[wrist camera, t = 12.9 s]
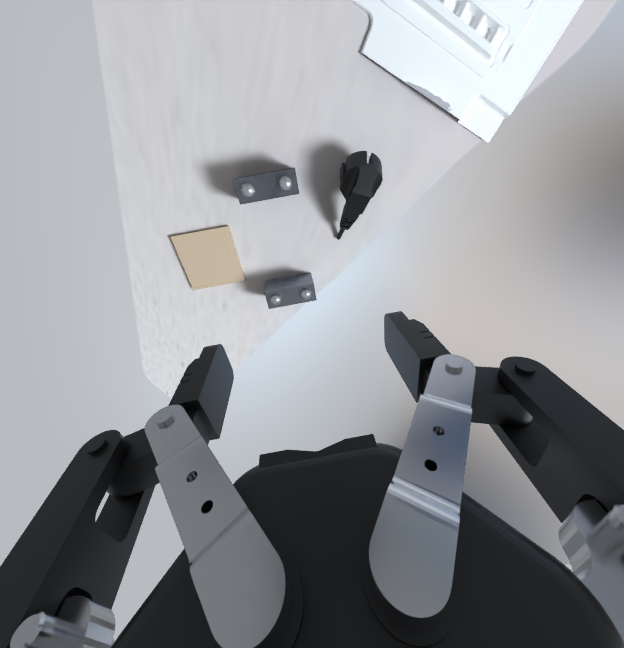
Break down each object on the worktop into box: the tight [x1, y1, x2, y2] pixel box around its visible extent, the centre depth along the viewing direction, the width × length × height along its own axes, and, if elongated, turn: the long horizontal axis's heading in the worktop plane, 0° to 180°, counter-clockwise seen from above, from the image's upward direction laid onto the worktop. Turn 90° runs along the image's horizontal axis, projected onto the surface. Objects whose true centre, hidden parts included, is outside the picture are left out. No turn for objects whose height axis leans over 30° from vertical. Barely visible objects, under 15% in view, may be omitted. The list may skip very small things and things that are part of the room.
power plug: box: [337, 151, 382, 239], centre depth 38 cm, size 6×8×12 cm
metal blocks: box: [233, 168, 316, 309], centre depth 40 cm, size 19×8×6 cm, turn 9°
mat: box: [171, 226, 245, 290], centre depth 42 cm, size 9×9×1 cm
